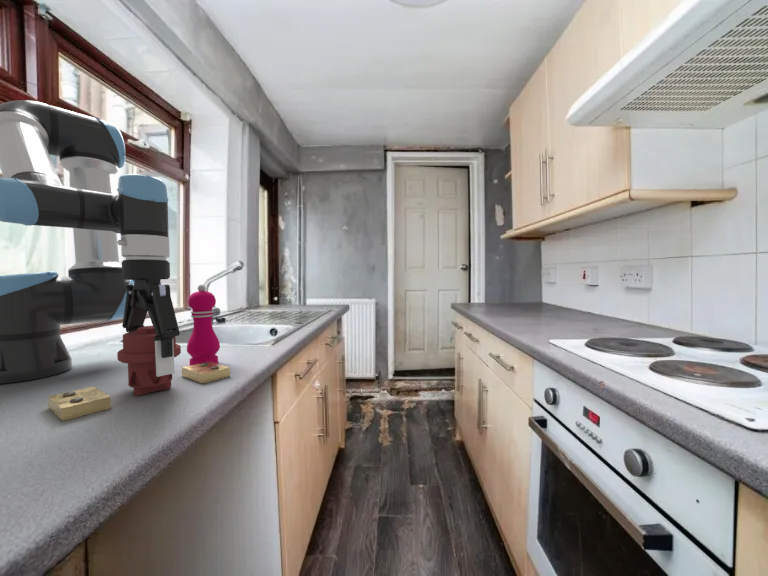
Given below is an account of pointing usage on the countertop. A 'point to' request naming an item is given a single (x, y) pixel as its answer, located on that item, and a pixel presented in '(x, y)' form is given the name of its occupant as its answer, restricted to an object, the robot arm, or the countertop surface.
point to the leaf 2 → (205, 372)
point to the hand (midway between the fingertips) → (150, 368)
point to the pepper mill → (202, 328)
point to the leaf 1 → (79, 403)
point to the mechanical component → (143, 361)
